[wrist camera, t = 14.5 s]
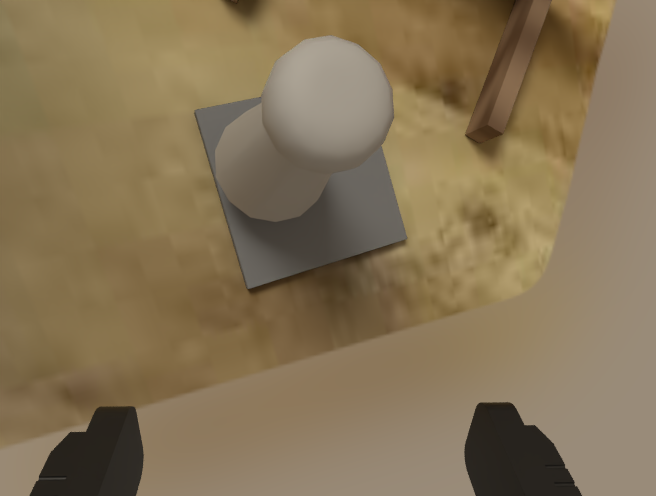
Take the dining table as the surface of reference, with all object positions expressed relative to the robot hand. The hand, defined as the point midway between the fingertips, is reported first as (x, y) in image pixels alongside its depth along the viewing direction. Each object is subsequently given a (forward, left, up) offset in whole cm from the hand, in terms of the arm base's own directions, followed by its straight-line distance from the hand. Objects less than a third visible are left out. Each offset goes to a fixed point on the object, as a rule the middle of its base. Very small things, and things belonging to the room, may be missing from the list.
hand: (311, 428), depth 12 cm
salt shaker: (+4, +8, -16) cm, 18 cm away
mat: (+7, +7, -16) cm, 19 cm away
